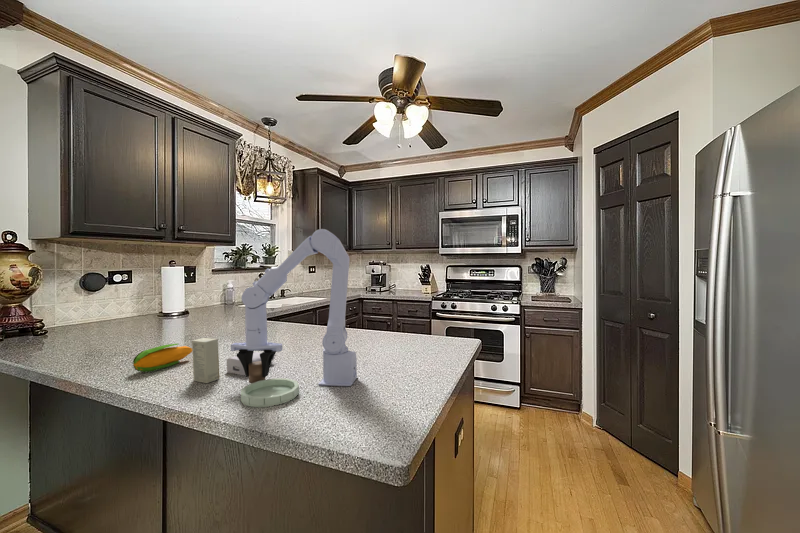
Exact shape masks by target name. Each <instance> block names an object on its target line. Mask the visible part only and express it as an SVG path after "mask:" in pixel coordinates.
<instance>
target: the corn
mask: <svg viewBox="0 0 800 533" xmlns="http://www.w3.org/2000/svg"><path fill="white" fill-rule="evenodd" d="M178 345H179V343H170V344H163V345H160V346H155V347H152V348H148V349H145V350H143V351H141V352H139V353H138V354H137V355H135V356H134V358H133V360H132V366H133V368H134V370H135V371H137V372H143V373H150V372H151V371H152V372H155V371H159V370H163V369H165V368H166V369H167V368H169V367H172V366H174V365H176V364H179V363H180V361H182V360H183V359H185V358H187V356H189V355H190V354H191V353H192V347H190V346H187V345H184V346H178Z"/></svg>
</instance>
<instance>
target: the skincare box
mask: <svg viewBox="0 0 800 533" xmlns="http://www.w3.org/2000/svg"><path fill="white" fill-rule="evenodd" d="M191 348H192V352H191V353H192V372H193V373H192V374H193V381H194V382H198V383H203V384H204V383H205V384H210V383H211V382H215V381H217V380H219V379H220V360H219V359H220V358H219V339H218V338H214V337H213V338H212V337H202V338H198V339H192V340H191Z"/></svg>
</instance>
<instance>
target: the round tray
mask: <svg viewBox="0 0 800 533" xmlns="http://www.w3.org/2000/svg"><path fill="white" fill-rule="evenodd" d="M299 392H300V385H299V382H298V381H297V380H295V379H291V378H286V377H285V378H282V377H280V378H279V377H275V378H269V379H267V378H266V380H261V381H257V382H254V383H249V384H247V385H245V386H244V387H242V388H241V389H240V402H241V404H243V405H244V406H246V407H251V408H268V407H269V406H270V407H275V406H274V405H276V406H279V404H280V405H283V404H282V403H284V404H287V403H288V401H289V402H291V401H293V400H294V399H296V398H297V397H298V396H299ZM297 395H298V396H297ZM296 396H297V397H296ZM295 397H296V398H295ZM292 399H293V400H292ZM290 400H291V401H290ZM270 407H269V408H270Z"/></svg>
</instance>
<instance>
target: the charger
mask: <svg viewBox="0 0 800 533" xmlns="http://www.w3.org/2000/svg"><path fill="white" fill-rule="evenodd" d="M261 353H262V352H258V351H254V352H253V358H252V362H257V361H261V358H260V354H261ZM276 356H277V355H276V354H275V355H274V357H273V359H272V361H274V360H275V359H276V358H275V357H276ZM226 372H228V373H231V374H234V373H235V375H239V374H240V376H244V375H245V371H244V368H243V366H242V364H241V362H240V360H239V359H238V357H237V355H236V356H232V357H229V358H227V359H226ZM244 377H246V375H245V376H244Z"/></svg>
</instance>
